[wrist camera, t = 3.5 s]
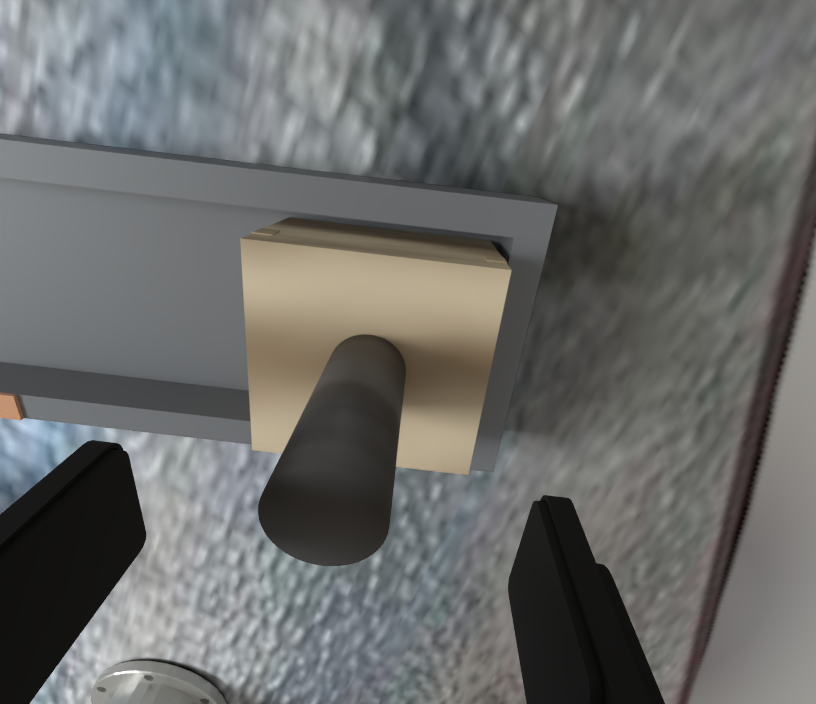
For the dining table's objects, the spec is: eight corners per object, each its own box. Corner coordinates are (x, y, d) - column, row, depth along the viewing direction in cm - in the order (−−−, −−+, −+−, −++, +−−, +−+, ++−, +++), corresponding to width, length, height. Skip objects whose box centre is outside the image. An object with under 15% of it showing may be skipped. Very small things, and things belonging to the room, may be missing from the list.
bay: (484, 429, 27) (493, 474, 23) (12, 374, 27) (-57, 411, 23) (535, 196, 21) (559, 205, 17) (-67, 125, 21) (-177, 118, 17)
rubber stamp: (459, 406, 25) (490, 662, 12) (290, 386, 25) (148, 623, 12) (490, 239, 21) (583, 366, 8) (289, 216, 21) (74, 306, 8)
